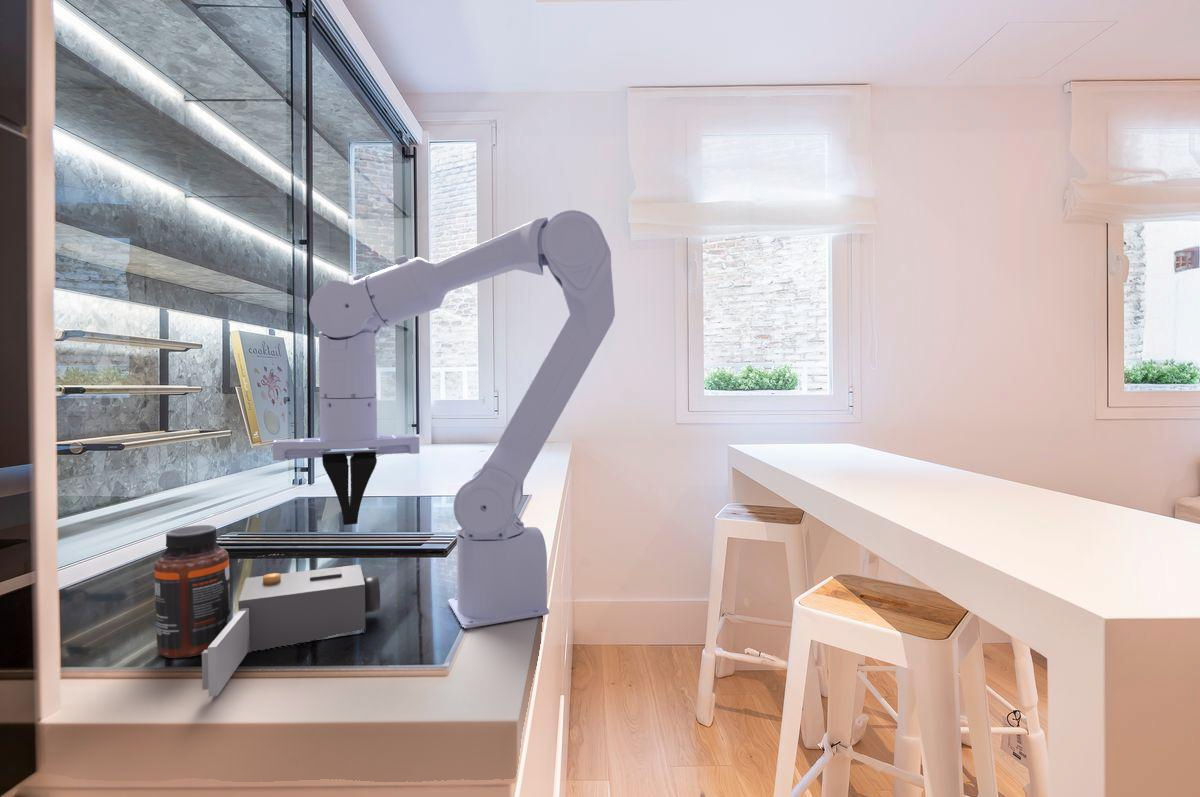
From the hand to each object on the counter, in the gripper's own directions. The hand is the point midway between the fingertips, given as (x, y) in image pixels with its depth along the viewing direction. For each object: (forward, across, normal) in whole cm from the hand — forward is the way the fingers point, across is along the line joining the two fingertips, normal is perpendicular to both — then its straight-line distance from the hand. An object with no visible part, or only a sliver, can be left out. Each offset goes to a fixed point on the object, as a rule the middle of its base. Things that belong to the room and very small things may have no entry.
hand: (350, 522), depth 67 cm
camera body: (+10, +4, +3) cm, 11 cm away
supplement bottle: (+10, +14, +3) cm, 18 cm away
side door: (+10, +10, +11) cm, 18 cm away
